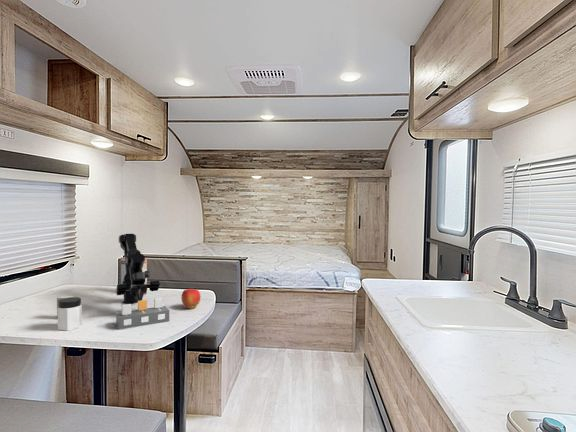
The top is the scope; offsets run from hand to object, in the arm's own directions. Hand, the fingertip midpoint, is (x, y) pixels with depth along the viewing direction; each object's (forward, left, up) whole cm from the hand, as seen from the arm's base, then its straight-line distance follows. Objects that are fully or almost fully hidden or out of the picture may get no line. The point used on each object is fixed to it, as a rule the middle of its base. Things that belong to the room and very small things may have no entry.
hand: (140, 302), depth 160 cm
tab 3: (+7, +3, -2) cm, 8 cm away
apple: (+11, +23, -8) cm, 27 cm away
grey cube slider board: (+5, -3, -7) cm, 10 cm away
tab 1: (+2, -10, -2) cm, 11 cm away
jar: (-18, -21, -8) cm, 29 cm away
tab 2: (+3, -2, -2) cm, 5 cm away
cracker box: (-37, +31, -8) cm, 49 cm away
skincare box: (-31, -14, -8) cm, 35 cm away
